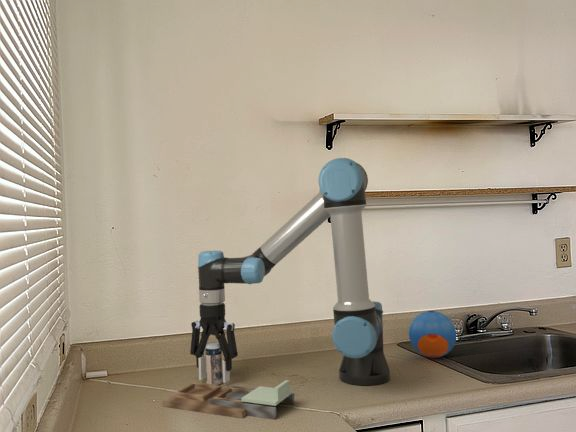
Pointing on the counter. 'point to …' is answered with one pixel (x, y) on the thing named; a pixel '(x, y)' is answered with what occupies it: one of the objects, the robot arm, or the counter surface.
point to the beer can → (213, 363)
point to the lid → (268, 394)
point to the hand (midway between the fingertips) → (214, 379)
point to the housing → (220, 401)
